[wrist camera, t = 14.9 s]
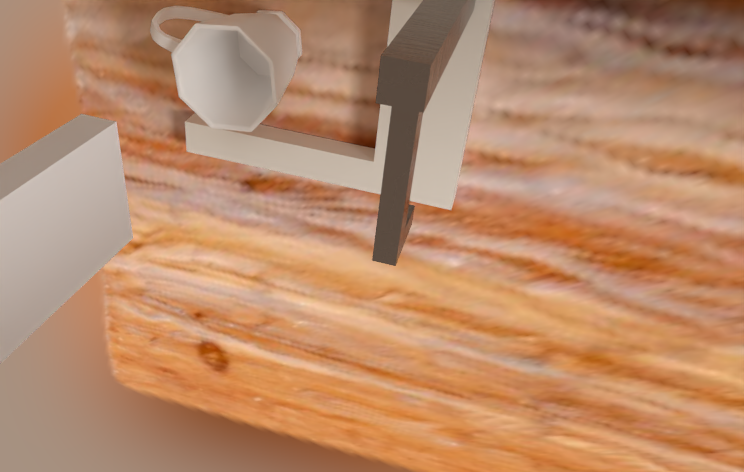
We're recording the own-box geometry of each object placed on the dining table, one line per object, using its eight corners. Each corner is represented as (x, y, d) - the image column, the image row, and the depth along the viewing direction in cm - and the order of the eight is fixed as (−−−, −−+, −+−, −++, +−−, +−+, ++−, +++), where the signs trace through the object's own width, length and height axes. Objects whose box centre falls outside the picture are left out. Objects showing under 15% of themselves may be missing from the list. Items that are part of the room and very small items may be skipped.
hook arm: (446, -31, 39) (380, 55, 26) (480, -26, 39) (431, 64, 26) (420, 138, 45) (356, 276, 32) (449, 144, 45) (396, 285, 32)
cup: (304, 104, 48) (261, 153, 42) (179, 44, 48) (117, 83, 42) (335, 15, 44) (293, 54, 38) (199, -51, 44) (133, -24, 38)
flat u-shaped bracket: (180, -191, 40) (164, -190, 38) (523, -144, 37) (521, -141, 35) (198, 140, 52) (186, 151, 51) (455, 196, 49) (451, 210, 48)
